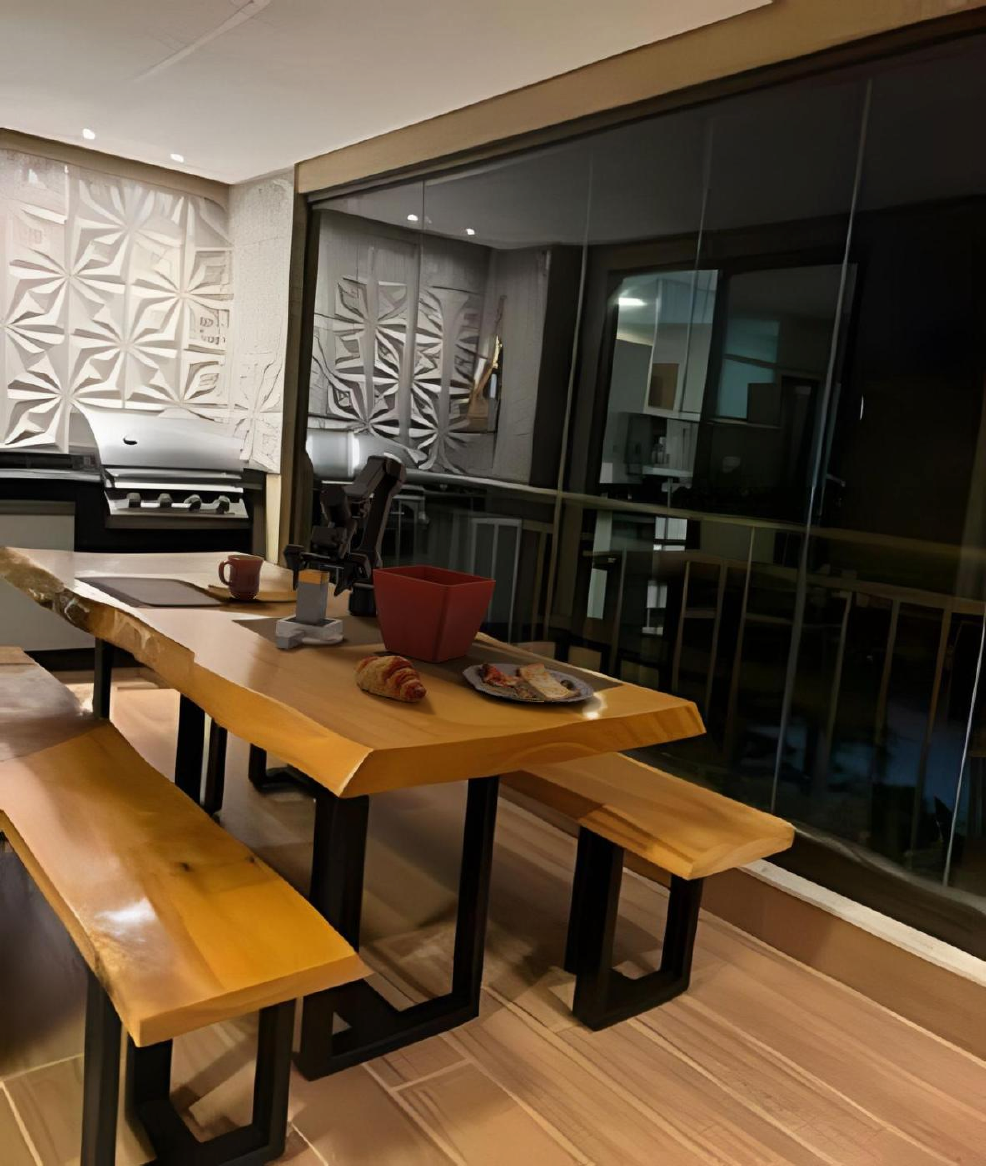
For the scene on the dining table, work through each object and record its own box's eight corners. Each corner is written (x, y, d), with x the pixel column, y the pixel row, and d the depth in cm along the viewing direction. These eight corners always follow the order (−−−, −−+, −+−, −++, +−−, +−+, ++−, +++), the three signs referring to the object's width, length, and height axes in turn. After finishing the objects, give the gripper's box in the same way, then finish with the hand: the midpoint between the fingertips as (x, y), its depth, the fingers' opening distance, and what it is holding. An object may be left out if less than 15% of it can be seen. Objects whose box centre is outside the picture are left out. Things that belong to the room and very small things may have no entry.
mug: (245, 594, 246) (248, 554, 245) (268, 600, 241) (271, 559, 239) (206, 597, 236) (209, 555, 235) (228, 603, 231) (232, 561, 230)
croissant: (341, 695, 178) (326, 658, 174) (384, 666, 183) (370, 630, 179) (408, 726, 162) (393, 687, 158) (453, 694, 167) (439, 655, 163)
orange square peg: (303, 628, 208) (308, 568, 207) (324, 632, 208) (329, 572, 206) (294, 632, 204) (299, 571, 202) (315, 635, 203) (320, 574, 201)
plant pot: (489, 657, 206) (498, 579, 204) (439, 670, 190) (448, 585, 187) (416, 639, 216) (423, 564, 213) (362, 650, 199) (370, 569, 197)
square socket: (292, 626, 214) (293, 610, 214) (351, 636, 211) (353, 620, 211) (249, 643, 194) (250, 626, 194) (315, 653, 191) (316, 636, 191)
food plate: (449, 670, 190) (451, 652, 190) (559, 675, 198) (561, 658, 197) (486, 711, 167) (489, 691, 166) (609, 715, 174) (612, 696, 174)
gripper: (289, 507, 210) (263, 563, 201) (371, 517, 206) (348, 575, 197) (301, 539, 218) (276, 595, 209) (380, 551, 215) (358, 607, 206)
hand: (314, 592), depth 205 cm, fingers open, 9 cm apart
